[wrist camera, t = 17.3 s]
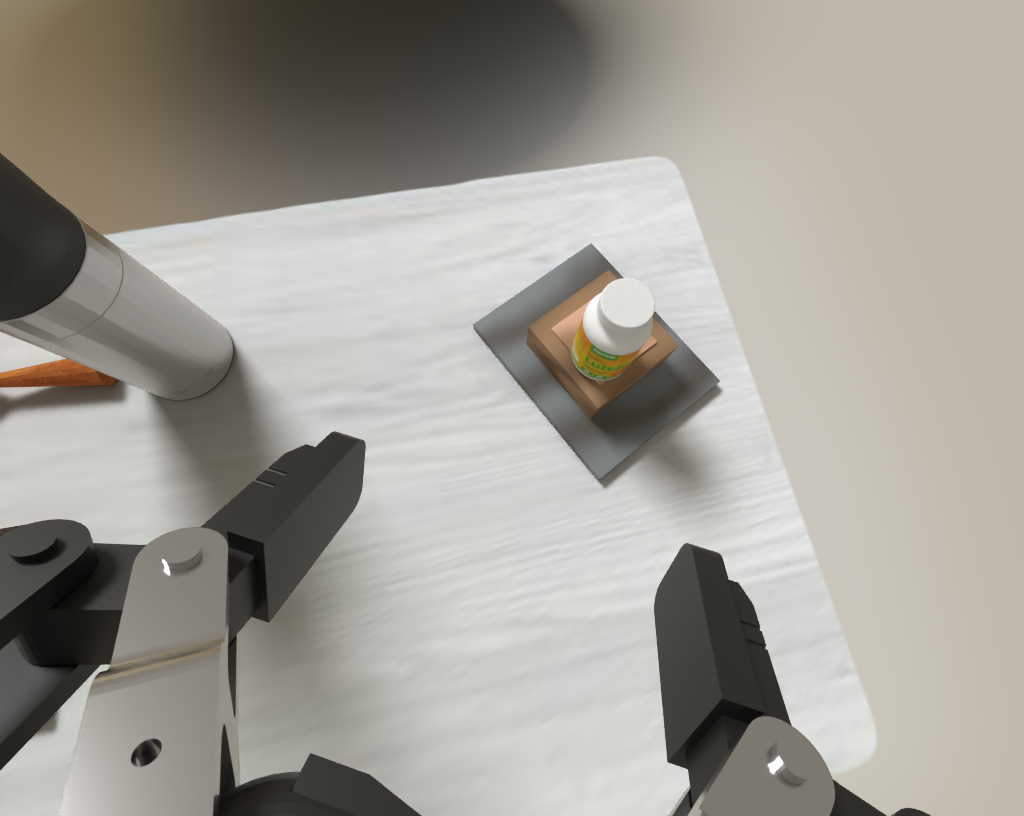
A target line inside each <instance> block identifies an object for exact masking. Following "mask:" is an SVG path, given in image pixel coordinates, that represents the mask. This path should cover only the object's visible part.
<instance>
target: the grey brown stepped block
mask: <svg viewBox="0 0 1024 816" xmlns="http://www.w3.org/2000/svg"><path fill="white" fill-rule="evenodd" d="M618 279H623V277H622V276H621V275H620V274H619V273H618V271H617V270H616V269H615V268H614V267H613V266H612V265H611V264H610V263H609V262H608V261H607V260H606V259H605V258H604V256H603V255H602V254H601V253H600V252H599V251H598V250H597V249H596V248H595V247H594V246H593V245H592V244H590V245H588V246H587V247H585V248H584V249H582V250H581V251H579V252H578V253H576V254H575V255H574V256H572V257H571V258H569V259H568V260H566V261H565V262H563V263H562V264H560V265H559V266H558V267H556V268H555V269H553V270H552V271H550V272H549V273H547V274H546V275H544V276H543V277H542V278H540V279H539V280H537V281H536V282H534V283H533V284H531V285H530V286H528V287H527V288H526V289H524V290H523V291H521V292H520V293H518V294H517V295H515V296H514V297H512V298H511V299H510V300H508V301H507V302H505V303H504V304H502V305H501V306H499V307H498V308H496V309H495V310H494V311H492V312H491V313H489V314H488V315H486V316H485V317H483V318H482V319H480V320H479V321H478V322H476V323H475V324H473V326H474V330H475V331H476V332H477V333H478V334H479V336H480V337H481V338H482V339H483V341H484V342H485V343H486V344H487V345H488V347H489V348H490V349H491V350H492V352H493V353H494V354H495V355H496V356H497V358H498V359H499V360H500V361H501V363H502V364H503V365H504V366H505V367H506V369H507V370H508V371H509V372H510V374H511V375H512V376H513V377H514V378H515V380H516V381H517V382H518V383H519V385H520V386H521V387H522V388H523V389H524V391H525V392H526V393H527V394H528V396H529V397H530V398H531V399H532V400H533V402H534V403H535V404H536V405H537V407H538V408H539V409H540V410H541V411H542V413H543V414H544V415H545V416H546V418H547V419H548V420H549V421H550V422H551V424H552V425H553V426H554V427H555V429H556V430H557V431H558V432H559V434H560V435H561V436H562V437H563V438H564V440H565V441H566V442H567V443H568V445H569V446H570V447H571V448H572V449H573V451H574V452H575V453H576V454H577V456H578V457H579V458H580V459H581V460H582V462H583V463H584V464H585V465H586V467H587V468H588V469H589V470H590V471H591V473H592V474H593V475H594V476H595V478H596V479H597V480H599V479H601V478H602V477H603V476H604V475H605V474H607V473H608V472H609V471H610V470H612V469H613V468H614V467H615V466H617V465H618V464H619V463H620V462H621V461H623V460H624V459H625V458H626V457H628V456H629V455H630V454H631V453H633V452H634V451H635V450H636V449H637V448H639V447H640V446H641V445H642V444H644V443H645V442H646V441H647V440H648V439H650V438H651V437H652V436H653V435H655V434H656V433H657V432H658V431H660V430H661V429H662V428H663V427H664V426H666V425H667V424H668V423H669V422H671V421H672V420H673V419H674V418H676V417H677V416H678V415H679V414H680V413H682V412H683V411H684V410H685V409H687V408H688V407H689V406H690V405H692V404H693V403H694V402H695V401H696V400H698V399H699V398H700V397H701V396H703V395H704V394H705V393H706V392H708V391H709V390H710V389H711V388H712V387H714V386H715V385H716V384H717V383H719V382H720V380H719V379H718V378H717V377H716V376H715V375H714V374H713V373H712V372H711V371H710V370H709V369H708V368H707V367H706V366H705V364H704V363H703V362H702V361H701V360H700V359H699V358H698V357H697V356H696V355H695V354H694V353H693V352H692V351H691V349H690V348H689V347H688V346H687V345H686V344H685V343H684V342H683V341H682V340H681V339H680V338H679V337H678V336H677V335H676V333H675V332H674V331H673V330H672V329H671V328H670V327H669V326H668V325H667V324H666V323H665V322H664V321H663V320H662V318H661V317H660V316H659V315H658V314H657V313H656V312H655V311H654V314H653V316H652V318H653V327H652V332H651V334H650V337H649V338H648V340H647V342H646V343H645V344H644V346H643V347H642V348H641V350H640V351H639V352H638V354H637V355H636V356H635V358H634V359H633V360H632V362H631V363H630V364H629V366H628V367H627V368H626V370H625V371H624V372H623V373H622V374H621V375H619V376H618V377H616V378H614V379H611V380H607V381H598V380H593V379H590V378H588V377H586V376H585V375H583V374H582V373H581V372H580V371H579V370H578V369H577V367H576V366H575V364H574V362H573V359H572V345H573V341H574V339H575V336H576V333H577V331H578V328H579V325H580V322H581V320H582V317H583V314H584V312H585V309H586V307H587V305H588V304H589V302H590V301H591V300H592V299H593V298H594V297H595V296H597V295H598V294H600V293H602V292H603V290H604V288H605V287H606V286H607V285H608V284H610V283H611V282H613V281H615V280H618Z"/></svg>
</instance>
